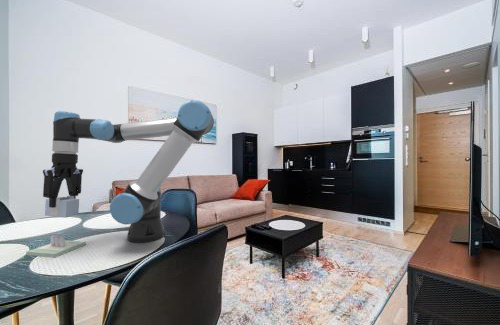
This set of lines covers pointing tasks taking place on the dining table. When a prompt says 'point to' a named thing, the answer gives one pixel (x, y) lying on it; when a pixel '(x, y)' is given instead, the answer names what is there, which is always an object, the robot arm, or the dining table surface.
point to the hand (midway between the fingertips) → (62, 214)
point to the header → (56, 247)
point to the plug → (64, 207)
